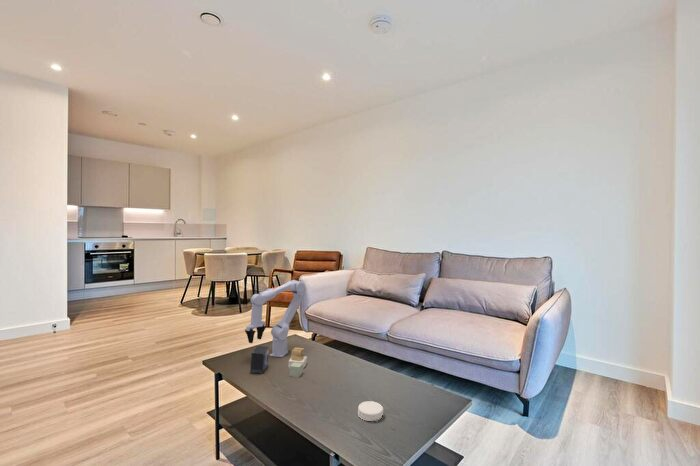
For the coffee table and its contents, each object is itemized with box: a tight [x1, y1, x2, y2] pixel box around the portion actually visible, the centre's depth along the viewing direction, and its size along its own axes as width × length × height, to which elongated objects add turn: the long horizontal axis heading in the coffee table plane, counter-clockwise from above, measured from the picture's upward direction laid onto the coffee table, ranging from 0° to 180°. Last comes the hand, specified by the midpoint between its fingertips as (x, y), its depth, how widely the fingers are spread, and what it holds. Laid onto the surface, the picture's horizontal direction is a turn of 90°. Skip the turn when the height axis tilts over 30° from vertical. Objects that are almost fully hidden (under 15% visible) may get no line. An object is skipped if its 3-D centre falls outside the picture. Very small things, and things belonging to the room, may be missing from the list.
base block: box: [287, 356, 308, 370], centre depth 176 cm, size 8×8×4 cm
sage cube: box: [289, 362, 304, 378], centre depth 165 cm, size 5×5×5 cm
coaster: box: [357, 400, 384, 421], centre depth 130 cm, size 10×10×4 cm
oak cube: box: [290, 347, 305, 361], centre depth 176 cm, size 5×5×5 cm
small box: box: [249, 345, 270, 375], centre depth 169 cm, size 11×6×10 cm, turn 179°
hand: (255, 340), depth 182 cm, fingers open, 7 cm apart
